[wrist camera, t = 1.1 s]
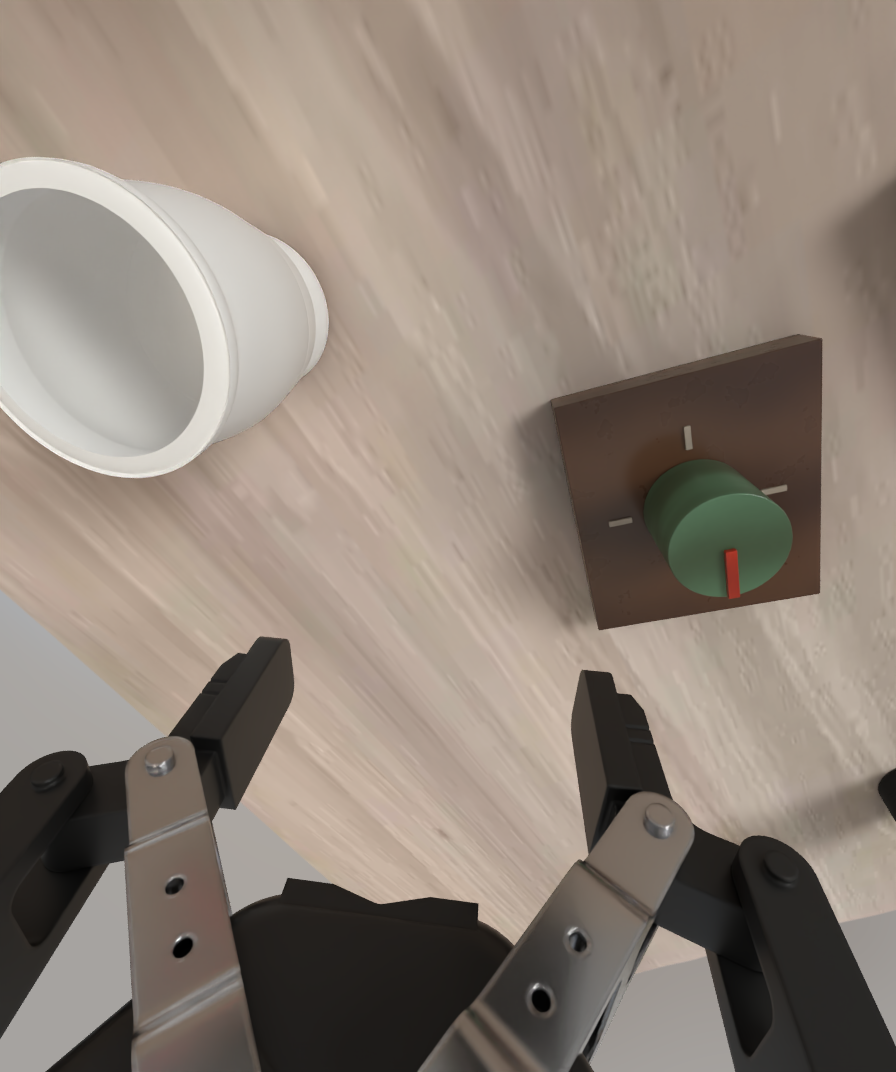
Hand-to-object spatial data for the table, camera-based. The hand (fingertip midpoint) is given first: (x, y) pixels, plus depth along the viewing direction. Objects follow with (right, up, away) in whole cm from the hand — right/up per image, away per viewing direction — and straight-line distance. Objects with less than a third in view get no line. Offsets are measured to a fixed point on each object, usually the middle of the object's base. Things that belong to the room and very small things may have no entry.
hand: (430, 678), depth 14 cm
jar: (-11, +18, +18) cm, 27 cm away
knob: (+15, +6, +17) cm, 24 cm away
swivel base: (+16, +7, +20) cm, 26 cm away
